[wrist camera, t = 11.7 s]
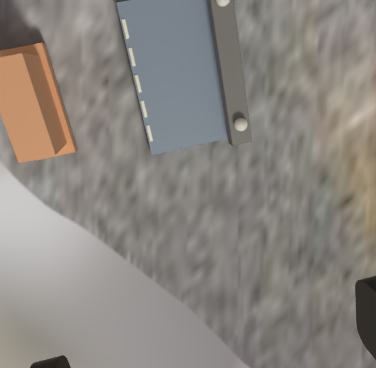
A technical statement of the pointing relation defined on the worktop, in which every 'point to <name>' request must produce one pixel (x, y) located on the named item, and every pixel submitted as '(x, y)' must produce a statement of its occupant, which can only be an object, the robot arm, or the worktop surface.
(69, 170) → the worktop surface
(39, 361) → the robot arm
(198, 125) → the panel with knobs
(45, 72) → the stub
